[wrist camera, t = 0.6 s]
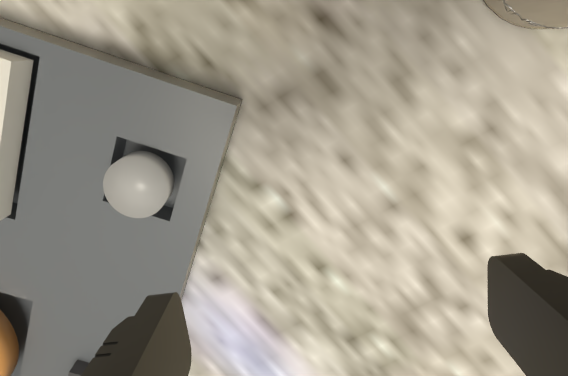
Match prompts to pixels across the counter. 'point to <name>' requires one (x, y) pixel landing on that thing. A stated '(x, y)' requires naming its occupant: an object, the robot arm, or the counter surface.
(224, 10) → the counter surface
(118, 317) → the control panel
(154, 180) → the grey button
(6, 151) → the key
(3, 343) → the orange button
